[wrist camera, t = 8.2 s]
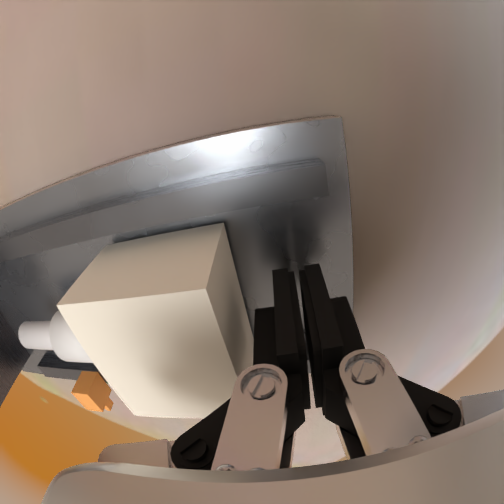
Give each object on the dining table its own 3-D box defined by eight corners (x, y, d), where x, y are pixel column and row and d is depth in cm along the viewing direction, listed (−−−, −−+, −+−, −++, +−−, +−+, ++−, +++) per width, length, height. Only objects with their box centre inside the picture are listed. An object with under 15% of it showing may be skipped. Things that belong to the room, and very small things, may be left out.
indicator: (97, 371, 14) (87, 394, 12) (120, 401, 15) (112, 422, 13) (81, 370, 14) (71, 392, 12) (104, 399, 15) (96, 419, 14)
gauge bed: (333, 115, 10) (431, 144, 4) (346, 347, 16) (373, 459, 10) (-44, 232, 13) (-106, 285, 7) (29, 361, 18) (-6, 423, 12)
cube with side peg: (223, 222, 11) (205, 288, 7) (262, 371, 14) (262, 439, 11) (20, 264, 12) (-25, 311, 8) (88, 374, 16) (66, 424, 12)
